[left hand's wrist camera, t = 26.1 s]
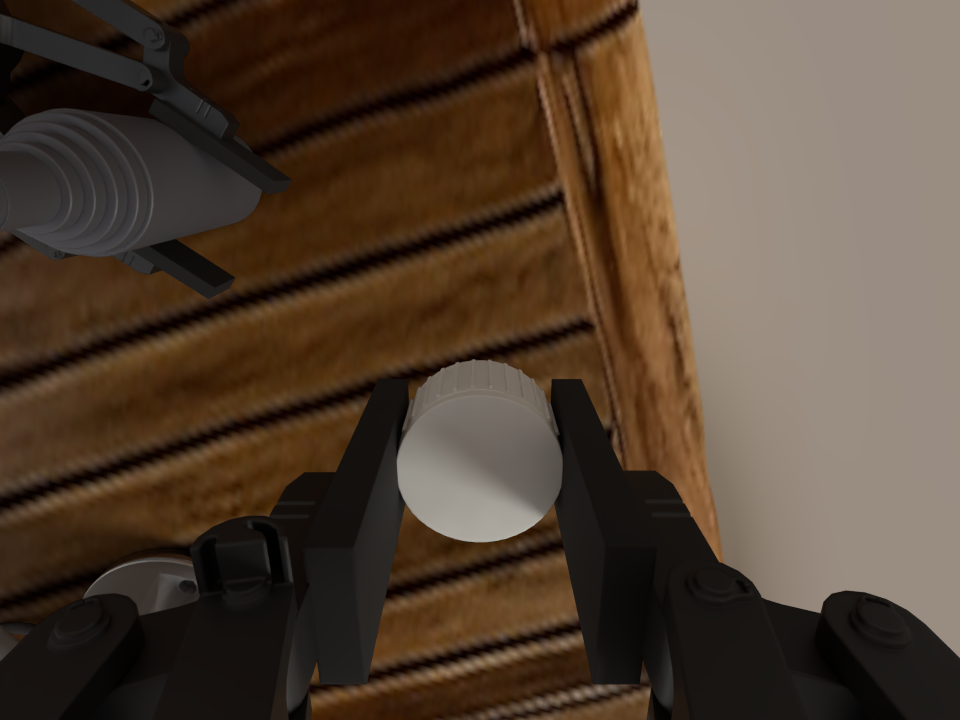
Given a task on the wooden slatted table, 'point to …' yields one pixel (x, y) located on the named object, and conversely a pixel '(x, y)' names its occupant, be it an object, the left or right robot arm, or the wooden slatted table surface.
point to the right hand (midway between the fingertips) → (249, 238)
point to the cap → (479, 452)
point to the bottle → (113, 183)
